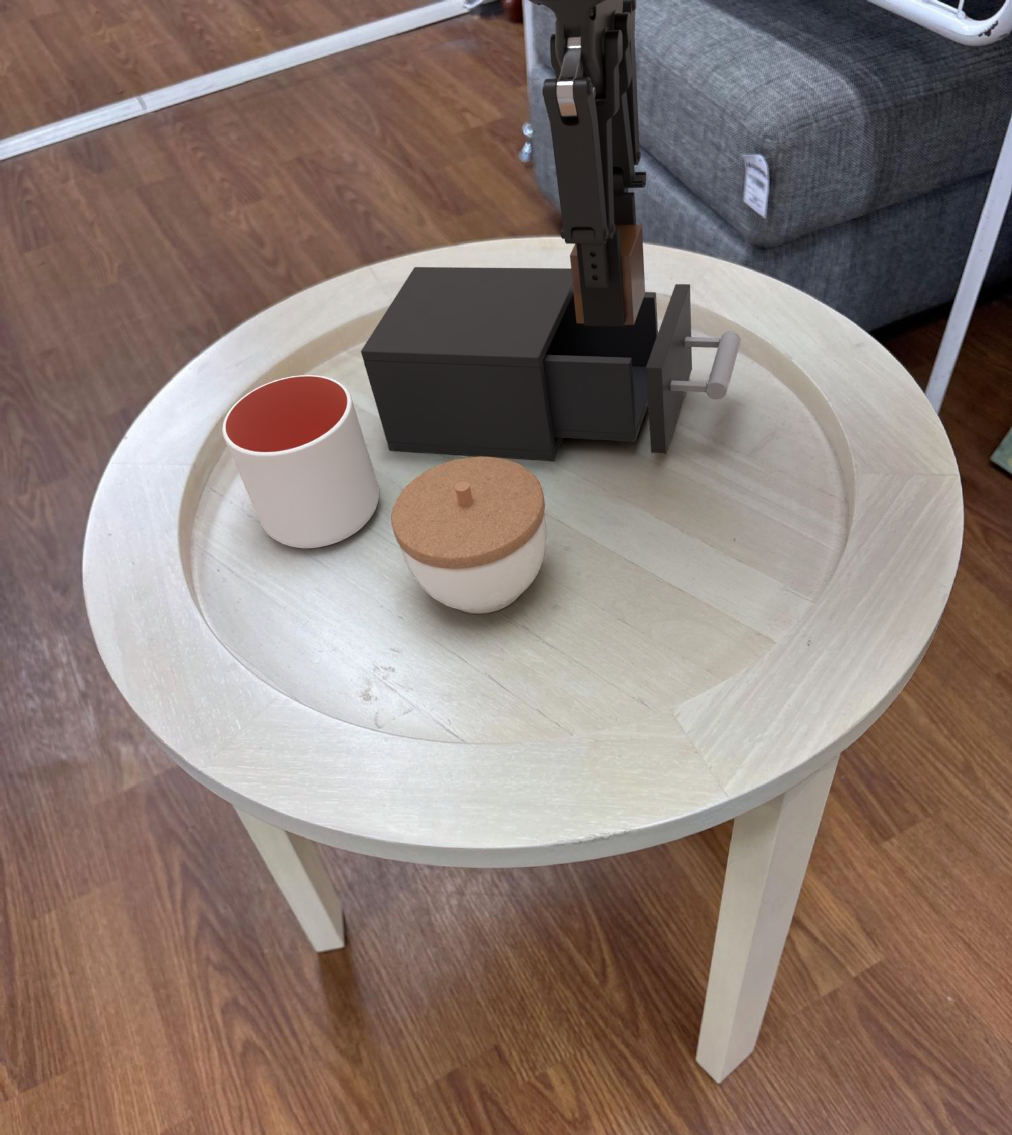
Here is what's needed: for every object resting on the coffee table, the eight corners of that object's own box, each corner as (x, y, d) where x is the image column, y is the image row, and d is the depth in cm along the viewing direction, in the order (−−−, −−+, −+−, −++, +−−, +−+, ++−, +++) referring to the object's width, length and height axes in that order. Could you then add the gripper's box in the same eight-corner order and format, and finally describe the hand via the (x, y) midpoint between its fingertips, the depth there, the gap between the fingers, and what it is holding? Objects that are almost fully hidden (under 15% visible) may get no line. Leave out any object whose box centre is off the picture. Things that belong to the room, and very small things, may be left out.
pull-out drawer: (744, 370, 90) (745, 284, 84) (721, 457, 83) (721, 370, 77) (540, 363, 95) (528, 281, 89) (503, 444, 88) (487, 361, 82)
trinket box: (586, 572, 78) (573, 471, 71) (484, 660, 74) (459, 562, 67) (485, 516, 84) (464, 418, 77) (385, 595, 80) (353, 499, 73)
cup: (377, 548, 84) (343, 445, 76) (255, 562, 85) (210, 461, 77) (387, 468, 90) (357, 366, 83) (274, 482, 91) (234, 382, 84)
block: (645, 292, 74) (642, 224, 71) (633, 324, 72) (629, 255, 68) (589, 291, 76) (583, 224, 72) (576, 323, 73) (569, 255, 69)
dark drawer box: (590, 370, 95) (579, 267, 88) (553, 461, 87) (538, 357, 80) (436, 364, 99) (414, 266, 92) (389, 450, 92) (360, 351, 85)
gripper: (551, -141, 62) (587, 240, 80) (465, -36, 52) (528, 374, 70) (680, -154, 60) (687, 240, 78) (616, -48, 50) (641, 378, 67)
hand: (612, 303), depth 74 cm, fingers closed on block, 4 cm apart
